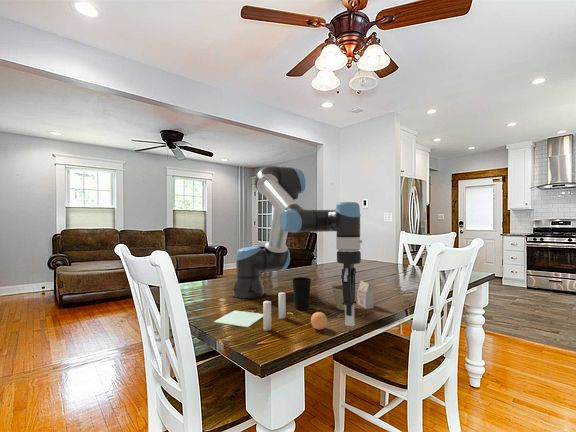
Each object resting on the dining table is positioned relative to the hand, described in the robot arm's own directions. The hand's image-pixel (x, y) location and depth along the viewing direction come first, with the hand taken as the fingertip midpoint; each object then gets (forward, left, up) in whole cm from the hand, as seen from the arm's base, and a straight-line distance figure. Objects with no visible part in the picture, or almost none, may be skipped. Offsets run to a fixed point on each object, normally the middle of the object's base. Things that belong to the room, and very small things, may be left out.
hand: (349, 324), depth 91 cm
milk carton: (-32, +1, -3) cm, 32 cm away
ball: (0, -10, 0) cm, 10 cm away
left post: (+6, -26, -3) cm, 27 cm away
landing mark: (0, -40, -3) cm, 40 cm away
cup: (-20, -23, -3) cm, 31 cm away
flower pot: (-26, -7, -3) cm, 27 cm away
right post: (-6, -26, -3) cm, 27 cm away
